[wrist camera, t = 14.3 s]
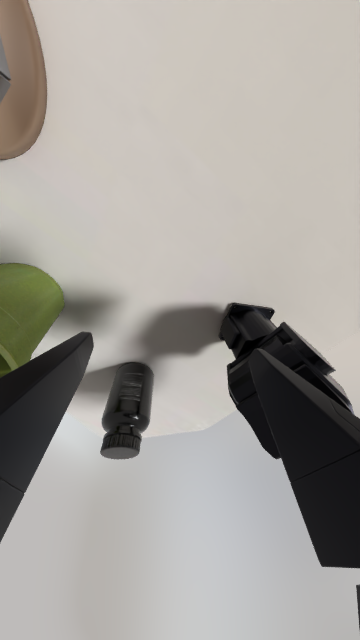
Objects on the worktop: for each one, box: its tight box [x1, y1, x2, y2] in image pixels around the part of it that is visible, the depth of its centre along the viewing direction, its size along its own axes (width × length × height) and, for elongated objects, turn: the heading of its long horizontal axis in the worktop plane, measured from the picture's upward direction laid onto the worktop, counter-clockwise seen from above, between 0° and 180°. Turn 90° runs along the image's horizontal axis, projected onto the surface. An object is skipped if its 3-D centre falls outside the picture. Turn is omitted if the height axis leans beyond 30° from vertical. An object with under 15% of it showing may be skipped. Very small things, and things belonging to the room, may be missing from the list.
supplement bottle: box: [100, 363, 154, 459], centre depth 25 cm, size 7×7×12 cm
